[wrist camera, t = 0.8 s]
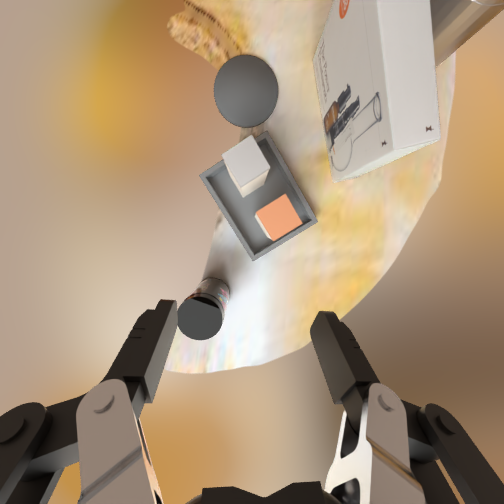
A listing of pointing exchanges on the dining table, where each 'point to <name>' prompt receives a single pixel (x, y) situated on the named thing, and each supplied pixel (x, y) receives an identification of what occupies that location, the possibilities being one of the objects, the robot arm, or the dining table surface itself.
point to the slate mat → (245, 91)
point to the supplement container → (204, 310)
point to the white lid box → (246, 166)
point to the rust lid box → (278, 218)
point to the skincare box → (376, 83)
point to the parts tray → (258, 200)
